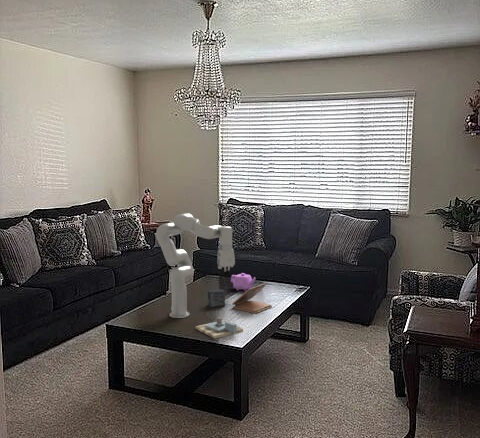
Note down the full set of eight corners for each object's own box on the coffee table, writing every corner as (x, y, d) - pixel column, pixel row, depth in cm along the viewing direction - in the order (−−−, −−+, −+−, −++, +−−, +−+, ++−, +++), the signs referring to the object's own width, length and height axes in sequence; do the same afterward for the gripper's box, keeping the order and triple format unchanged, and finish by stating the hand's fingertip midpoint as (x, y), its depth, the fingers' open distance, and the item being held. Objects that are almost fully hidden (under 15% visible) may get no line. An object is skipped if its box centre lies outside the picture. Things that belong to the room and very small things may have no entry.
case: (249, 301, 359) (249, 279, 357) (273, 307, 346) (273, 284, 344) (230, 308, 344) (230, 285, 342) (255, 314, 331) (255, 290, 329)
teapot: (228, 290, 389) (227, 273, 388) (234, 286, 401) (234, 270, 399) (252, 292, 382) (252, 276, 380) (258, 288, 393) (258, 272, 392)
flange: (204, 327, 300) (204, 319, 299) (219, 322, 309) (219, 315, 308) (227, 335, 287) (227, 327, 286) (242, 329, 296) (242, 322, 295)
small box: (222, 303, 354) (222, 288, 353) (225, 306, 348) (225, 291, 347) (207, 305, 351) (207, 290, 349) (210, 307, 345) (210, 292, 343)
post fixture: (195, 328, 303) (195, 317, 302) (223, 322, 314) (223, 311, 313) (214, 338, 287) (214, 326, 286) (243, 331, 298) (243, 319, 297)
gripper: (218, 249, 297) (219, 280, 300) (239, 246, 306) (239, 276, 308) (211, 247, 303) (212, 278, 306) (232, 245, 312) (232, 274, 314)
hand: (225, 277), depth 307 cm, fingers closed
